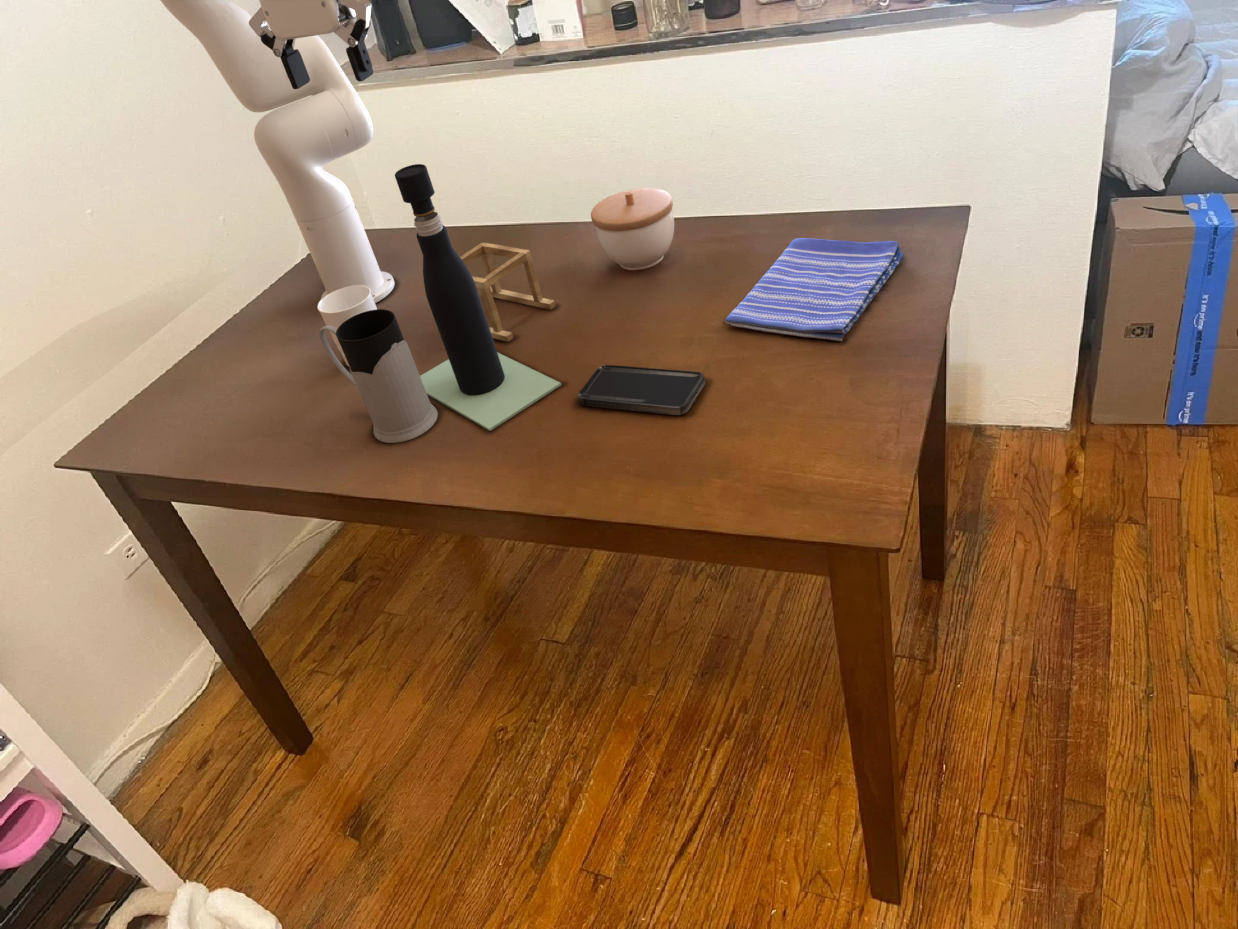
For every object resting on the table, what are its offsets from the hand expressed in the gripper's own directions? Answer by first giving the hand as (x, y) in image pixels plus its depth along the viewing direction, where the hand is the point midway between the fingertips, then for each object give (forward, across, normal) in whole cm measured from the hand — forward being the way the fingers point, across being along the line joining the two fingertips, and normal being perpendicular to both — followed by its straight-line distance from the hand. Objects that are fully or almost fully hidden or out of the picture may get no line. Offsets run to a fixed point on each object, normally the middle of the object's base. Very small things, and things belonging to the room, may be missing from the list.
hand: (333, 81), depth 119 cm
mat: (+38, -14, +11) cm, 42 cm away
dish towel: (+38, -56, -12) cm, 69 cm away
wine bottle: (+38, -14, +11) cm, 42 cm away
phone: (+38, -38, +13) cm, 55 cm away
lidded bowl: (+38, -26, -24) cm, 52 cm away
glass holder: (+38, -4, +19) cm, 43 cm away
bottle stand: (+38, -9, -7) cm, 40 cm away
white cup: (+38, +8, +4) cm, 40 cm away
